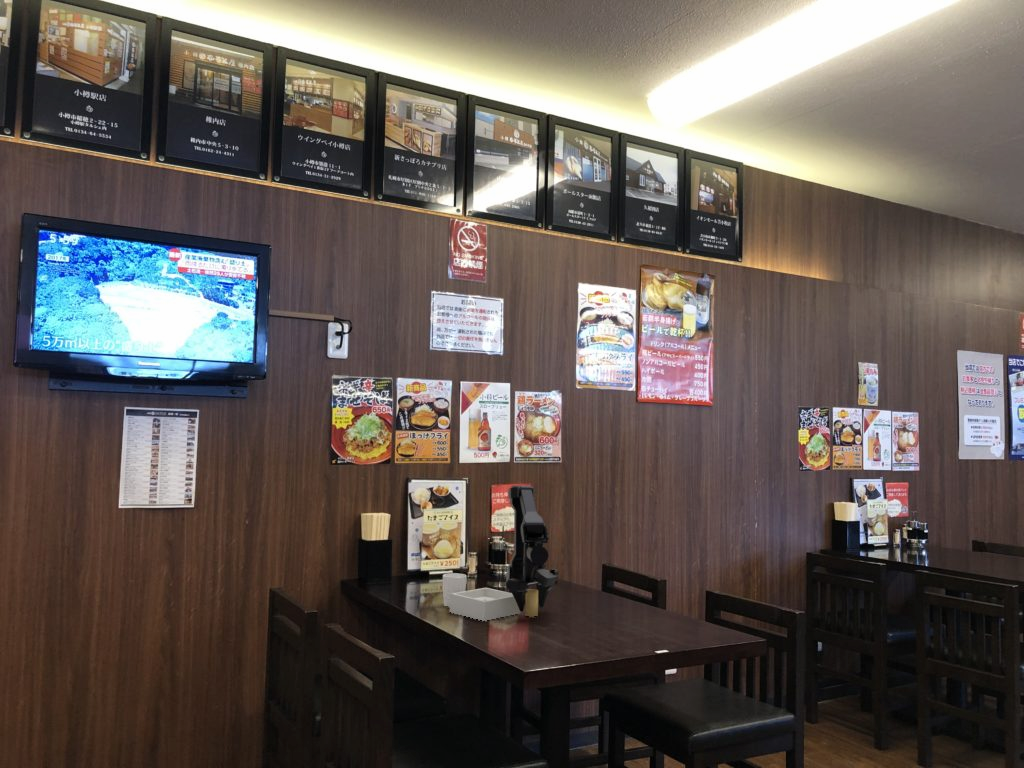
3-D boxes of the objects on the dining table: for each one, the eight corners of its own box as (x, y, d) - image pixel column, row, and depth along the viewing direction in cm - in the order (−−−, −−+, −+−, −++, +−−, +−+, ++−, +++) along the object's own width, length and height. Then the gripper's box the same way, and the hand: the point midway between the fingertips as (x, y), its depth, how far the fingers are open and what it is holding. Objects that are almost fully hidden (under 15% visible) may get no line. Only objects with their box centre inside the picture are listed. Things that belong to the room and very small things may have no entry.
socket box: (485, 605, 269) (486, 587, 269) (520, 614, 258) (520, 595, 258) (449, 612, 257) (450, 593, 258) (484, 621, 246) (484, 601, 246)
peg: (531, 613, 258) (531, 588, 259) (540, 616, 256) (540, 590, 256) (522, 615, 255) (523, 590, 256) (531, 617, 253) (532, 592, 253)
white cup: (437, 606, 266) (438, 575, 267) (450, 602, 273) (450, 572, 274) (457, 609, 263) (458, 578, 263) (470, 605, 270) (470, 574, 270)
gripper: (531, 566, 244) (530, 618, 243) (570, 560, 258) (569, 609, 257) (505, 561, 252) (504, 611, 251) (544, 555, 265) (544, 603, 264)
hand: (531, 609), depth 256 cm, fingers open, 9 cm apart
